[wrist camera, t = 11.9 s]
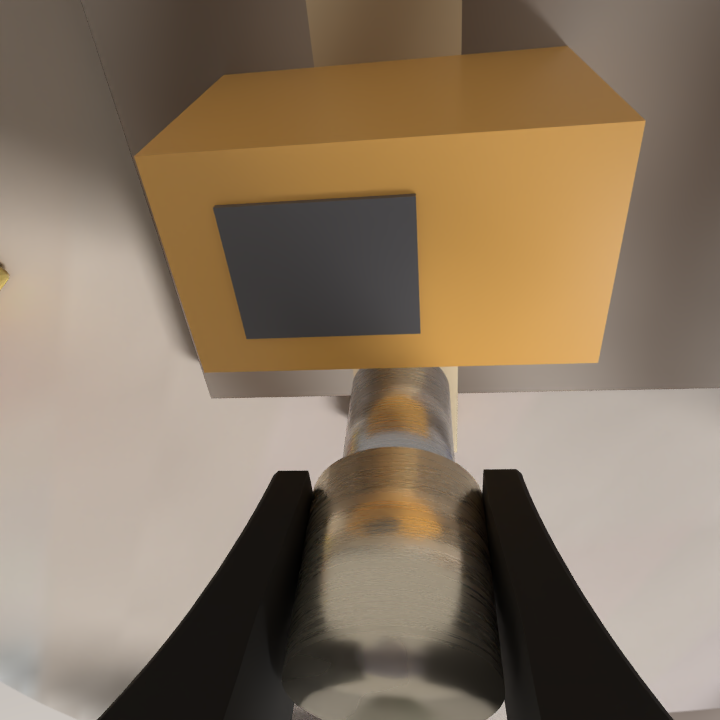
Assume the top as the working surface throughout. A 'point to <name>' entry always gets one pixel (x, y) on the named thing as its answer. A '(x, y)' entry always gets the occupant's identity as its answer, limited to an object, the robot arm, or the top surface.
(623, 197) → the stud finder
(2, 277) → the candy box
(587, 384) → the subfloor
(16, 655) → the top surface
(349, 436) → the stepped metal cylinder
